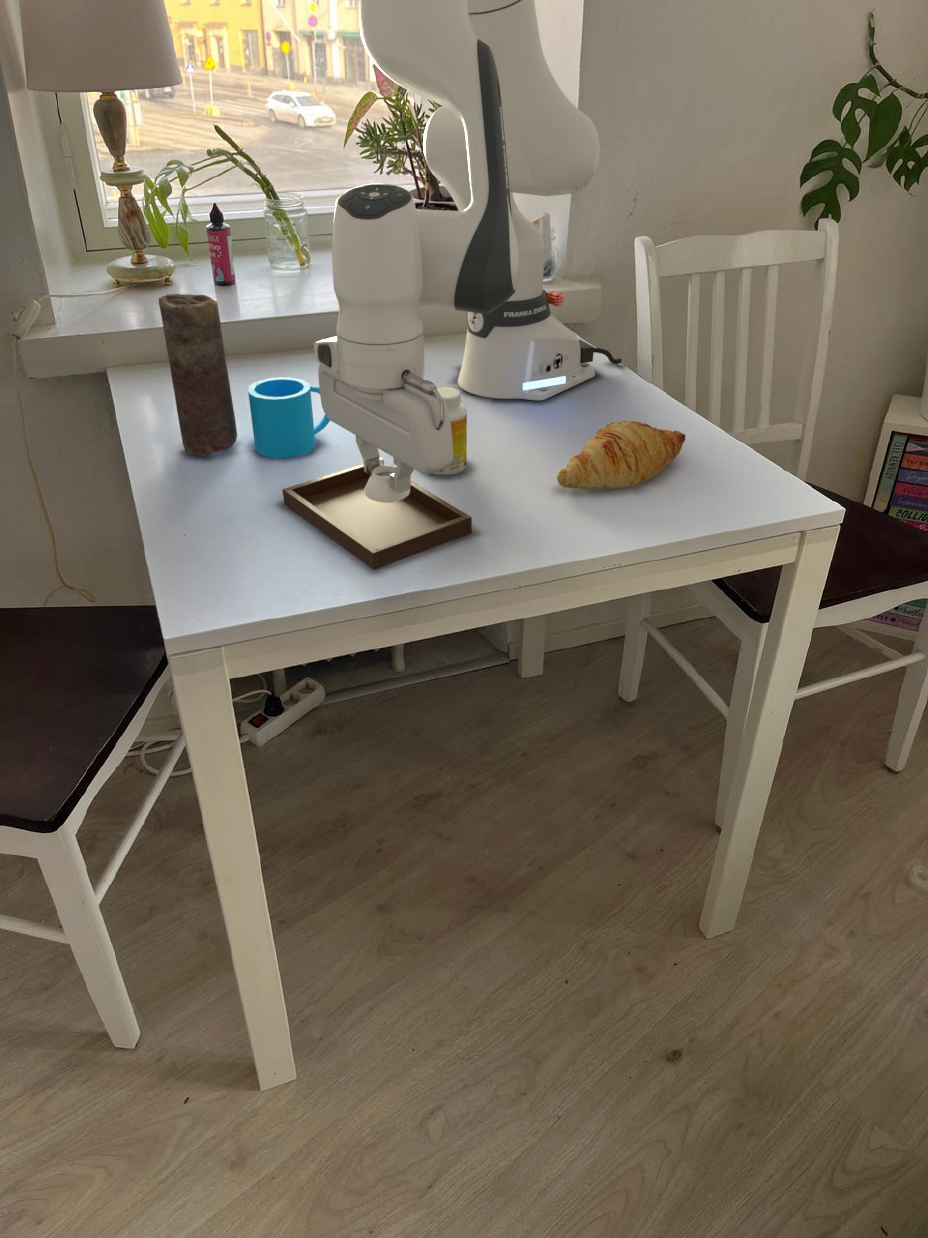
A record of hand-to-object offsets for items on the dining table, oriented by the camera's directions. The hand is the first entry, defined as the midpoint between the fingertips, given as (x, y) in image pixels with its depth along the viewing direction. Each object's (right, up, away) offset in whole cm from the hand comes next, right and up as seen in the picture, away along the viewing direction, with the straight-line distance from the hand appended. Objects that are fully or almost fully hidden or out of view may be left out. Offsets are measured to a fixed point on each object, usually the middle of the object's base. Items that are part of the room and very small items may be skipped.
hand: (386, 481), depth 107 cm
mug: (-14, +9, +26) cm, 31 cm away
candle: (-26, +8, +24) cm, 36 cm away
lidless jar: (0, -2, +1) cm, 2 cm away
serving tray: (-2, -3, +7) cm, 8 cm away
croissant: (+29, +4, +18) cm, 34 cm away
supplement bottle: (+6, +4, +19) cm, 20 cm away
